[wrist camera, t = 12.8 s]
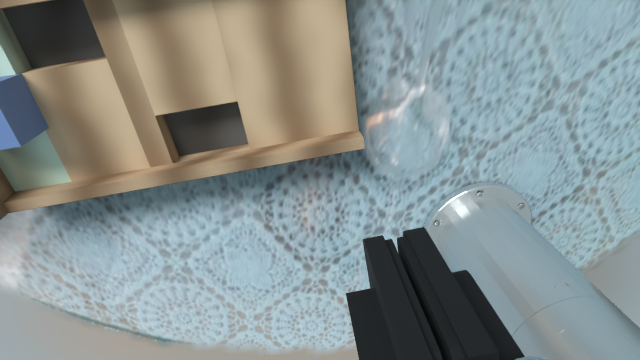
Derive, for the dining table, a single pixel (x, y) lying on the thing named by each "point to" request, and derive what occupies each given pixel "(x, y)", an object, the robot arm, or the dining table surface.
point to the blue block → (18, 113)
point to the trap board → (172, 91)
